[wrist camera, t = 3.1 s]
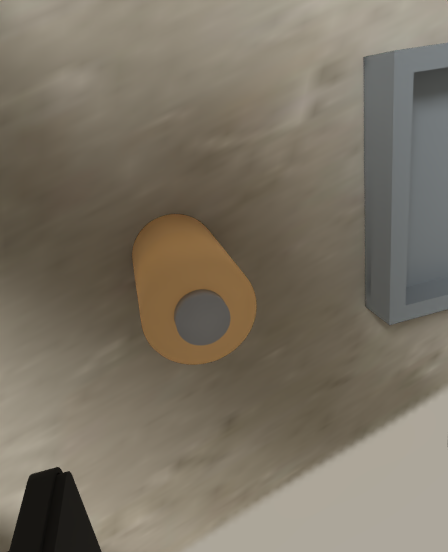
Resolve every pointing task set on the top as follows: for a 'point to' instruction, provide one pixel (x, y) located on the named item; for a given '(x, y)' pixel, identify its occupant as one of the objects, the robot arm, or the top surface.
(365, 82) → the tray
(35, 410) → the top surface
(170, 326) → the battery cell
